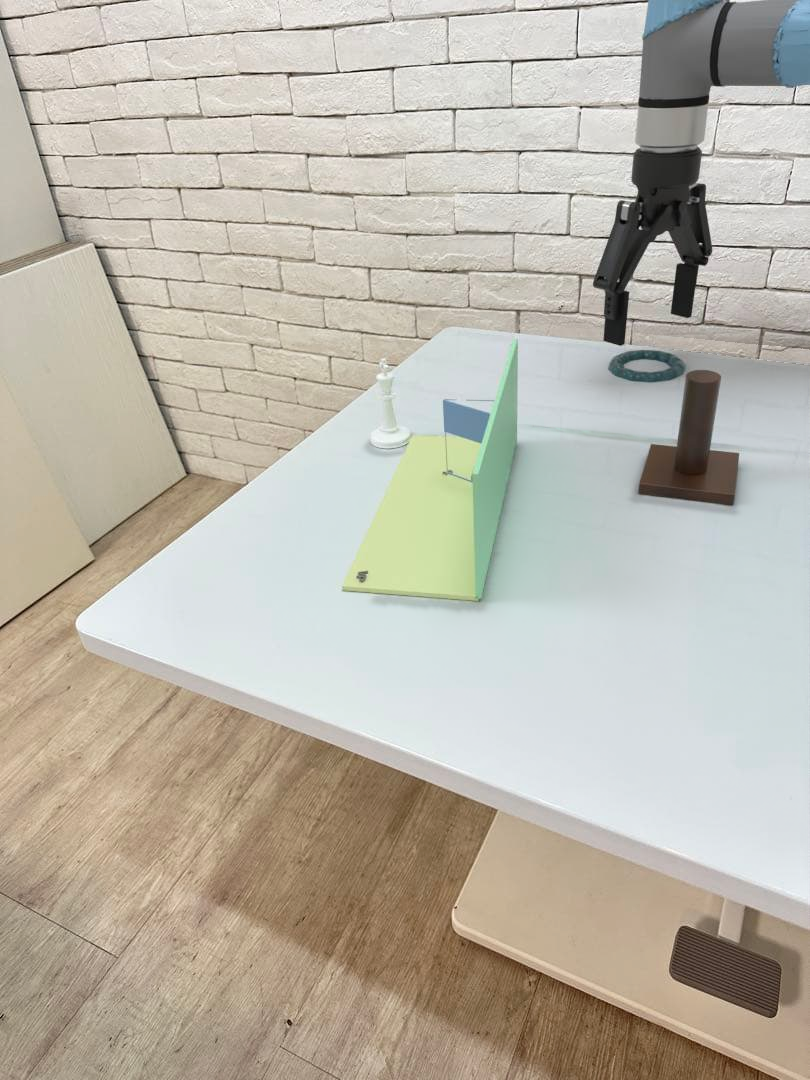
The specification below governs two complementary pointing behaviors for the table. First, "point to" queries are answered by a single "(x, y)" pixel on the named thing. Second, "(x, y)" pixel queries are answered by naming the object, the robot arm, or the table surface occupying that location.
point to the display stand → (444, 504)
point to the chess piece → (388, 415)
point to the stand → (693, 451)
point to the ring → (670, 359)
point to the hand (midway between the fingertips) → (648, 328)
